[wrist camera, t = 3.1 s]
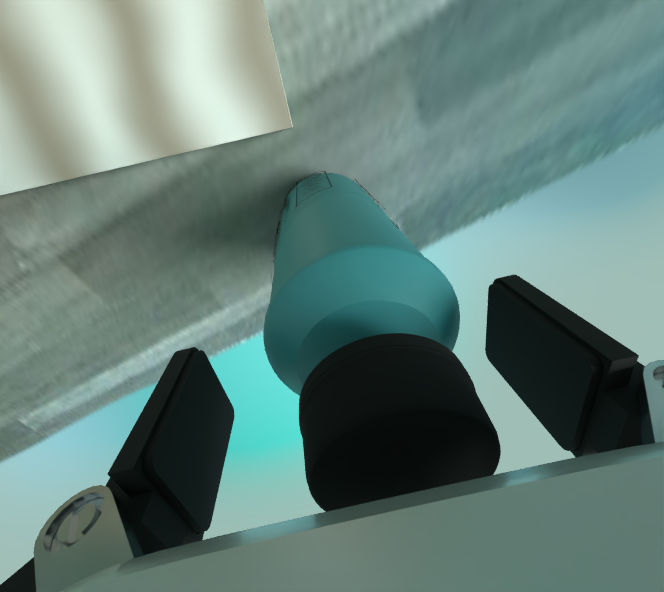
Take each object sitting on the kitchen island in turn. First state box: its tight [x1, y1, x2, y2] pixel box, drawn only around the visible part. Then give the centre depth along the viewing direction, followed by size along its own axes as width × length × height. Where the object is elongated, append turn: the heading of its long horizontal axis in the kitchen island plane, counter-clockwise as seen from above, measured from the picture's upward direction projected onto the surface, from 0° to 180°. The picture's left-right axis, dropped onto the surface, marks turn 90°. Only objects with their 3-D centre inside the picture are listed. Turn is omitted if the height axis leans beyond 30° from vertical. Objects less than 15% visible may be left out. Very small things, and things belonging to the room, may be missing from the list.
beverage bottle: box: [264, 171, 500, 512], centre depth 14 cm, size 6×7×20 cm
